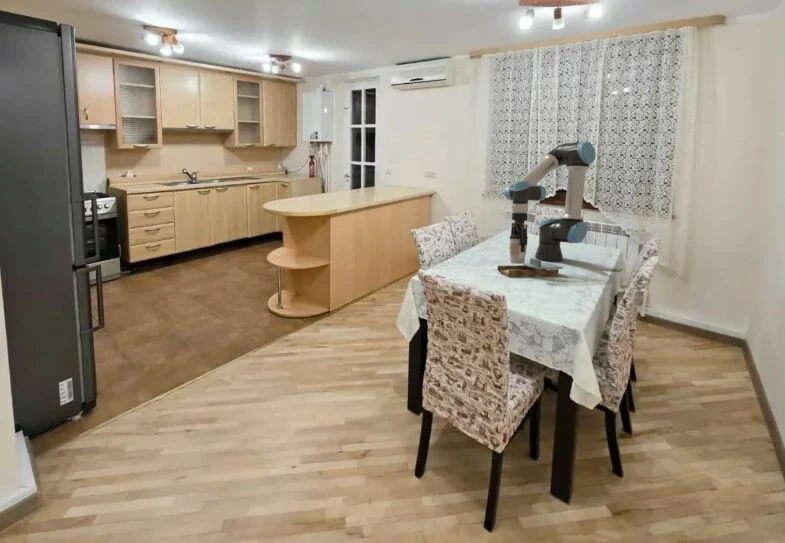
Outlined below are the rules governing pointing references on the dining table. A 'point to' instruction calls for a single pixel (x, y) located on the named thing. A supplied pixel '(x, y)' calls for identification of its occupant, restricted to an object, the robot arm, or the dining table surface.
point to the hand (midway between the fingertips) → (517, 257)
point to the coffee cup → (515, 249)
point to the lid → (541, 265)
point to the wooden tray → (526, 271)
